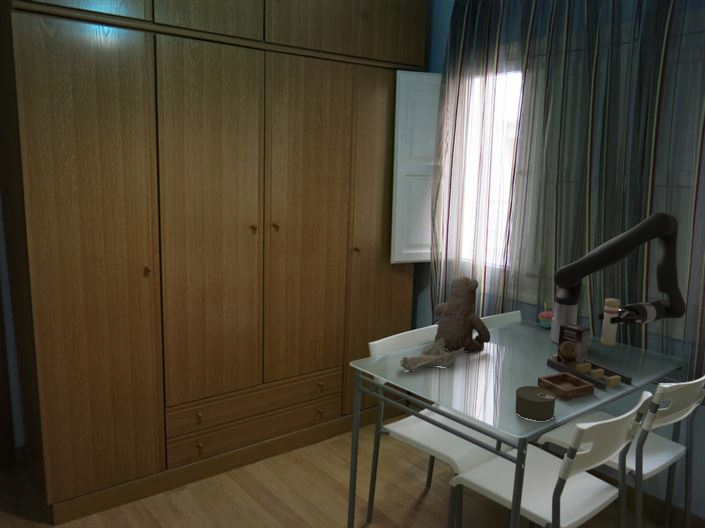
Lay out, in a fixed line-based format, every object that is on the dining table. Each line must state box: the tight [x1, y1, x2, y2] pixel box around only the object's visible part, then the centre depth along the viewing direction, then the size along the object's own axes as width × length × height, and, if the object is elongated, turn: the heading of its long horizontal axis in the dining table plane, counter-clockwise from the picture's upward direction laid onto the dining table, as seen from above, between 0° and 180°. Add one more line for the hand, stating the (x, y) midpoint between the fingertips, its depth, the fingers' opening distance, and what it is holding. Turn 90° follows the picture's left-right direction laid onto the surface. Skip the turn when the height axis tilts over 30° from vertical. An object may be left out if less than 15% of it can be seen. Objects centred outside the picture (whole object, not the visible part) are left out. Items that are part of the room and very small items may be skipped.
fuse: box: [600, 297, 621, 347], centre depth 212 cm, size 5×5×16 cm
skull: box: [399, 338, 465, 372], centre depth 228 cm, size 12×8×25 cm
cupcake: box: [537, 300, 554, 329], centre depth 281 cm, size 9×8×12 cm
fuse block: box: [546, 353, 633, 391], centre depth 223 cm, size 28×14×3 cm, turn 26°
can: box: [515, 385, 557, 421], centre depth 188 cm, size 12×12×7 cm
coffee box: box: [556, 323, 591, 369], centre depth 228 cm, size 9×6×16 cm
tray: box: [536, 372, 596, 401], centre depth 207 cm, size 13×13×3 cm
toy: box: [433, 275, 491, 353], centre depth 249 cm, size 26×20×30 cm
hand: (605, 318), depth 210 cm, fingers closed on fuse, 4 cm apart
